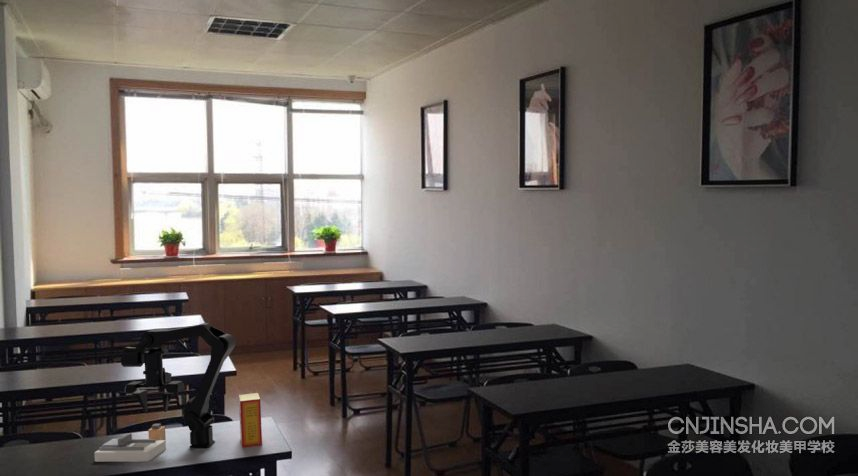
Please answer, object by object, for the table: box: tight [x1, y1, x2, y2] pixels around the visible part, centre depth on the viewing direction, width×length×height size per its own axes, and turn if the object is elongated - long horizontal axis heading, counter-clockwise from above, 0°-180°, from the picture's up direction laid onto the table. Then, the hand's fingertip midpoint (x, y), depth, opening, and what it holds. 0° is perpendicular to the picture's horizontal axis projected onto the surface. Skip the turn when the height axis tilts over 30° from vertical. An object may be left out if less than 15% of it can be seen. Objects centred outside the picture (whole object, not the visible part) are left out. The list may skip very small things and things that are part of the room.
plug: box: [147, 423, 167, 440], centre depth 241 cm, size 4×4×7 cm
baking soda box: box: [238, 392, 263, 449], centre depth 241 cm, size 10×6×16 cm
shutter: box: [101, 432, 133, 447], centre depth 232 cm, size 6×6×3 cm
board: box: [93, 438, 167, 463], centre depth 231 cm, size 18×12×4 cm, turn 84°
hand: (155, 411), depth 241 cm, fingers open, 7 cm apart
